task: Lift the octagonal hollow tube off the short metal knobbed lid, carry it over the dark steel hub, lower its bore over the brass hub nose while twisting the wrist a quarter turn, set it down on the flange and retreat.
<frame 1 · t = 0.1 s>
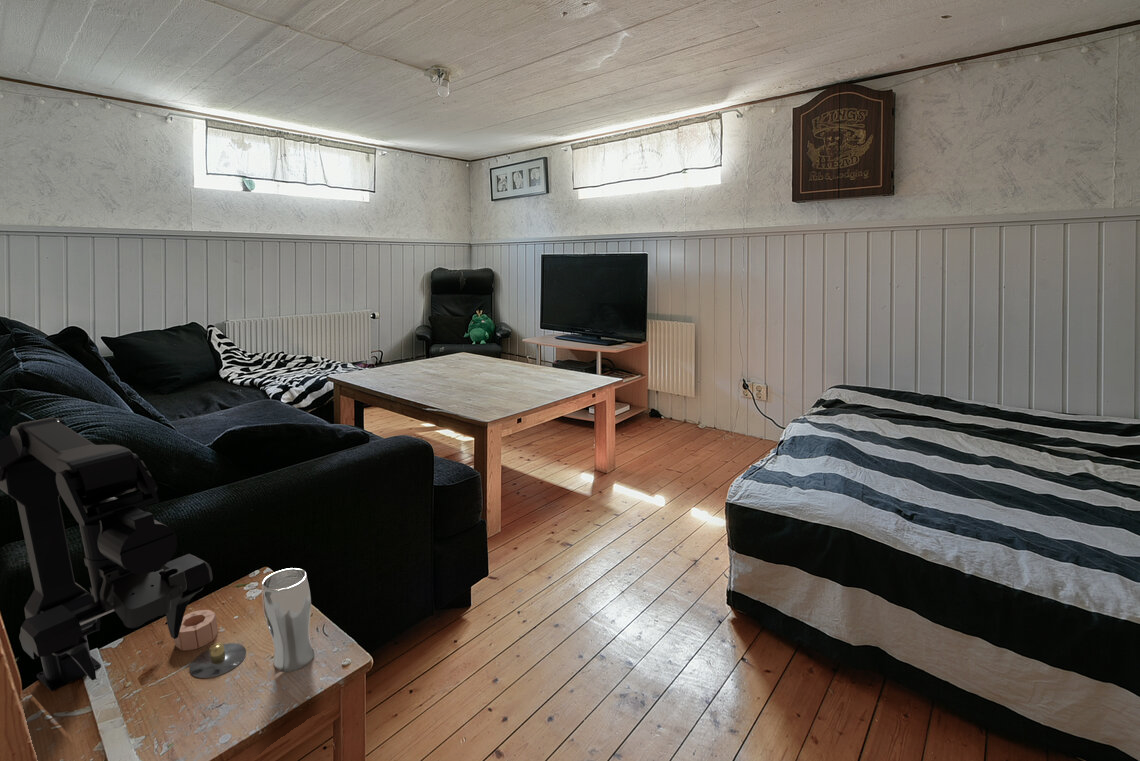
hand: (135, 657, 75), 15 cm above the table, fingers open, 9 cm apart
beer glass: (294, 660, 96), on the table
octagonal hollow tube: (197, 638, 100), resting on metal knobbed lid
metal knobbed lid: (197, 640, 100), on the table
hub: (218, 662, 95), on the table
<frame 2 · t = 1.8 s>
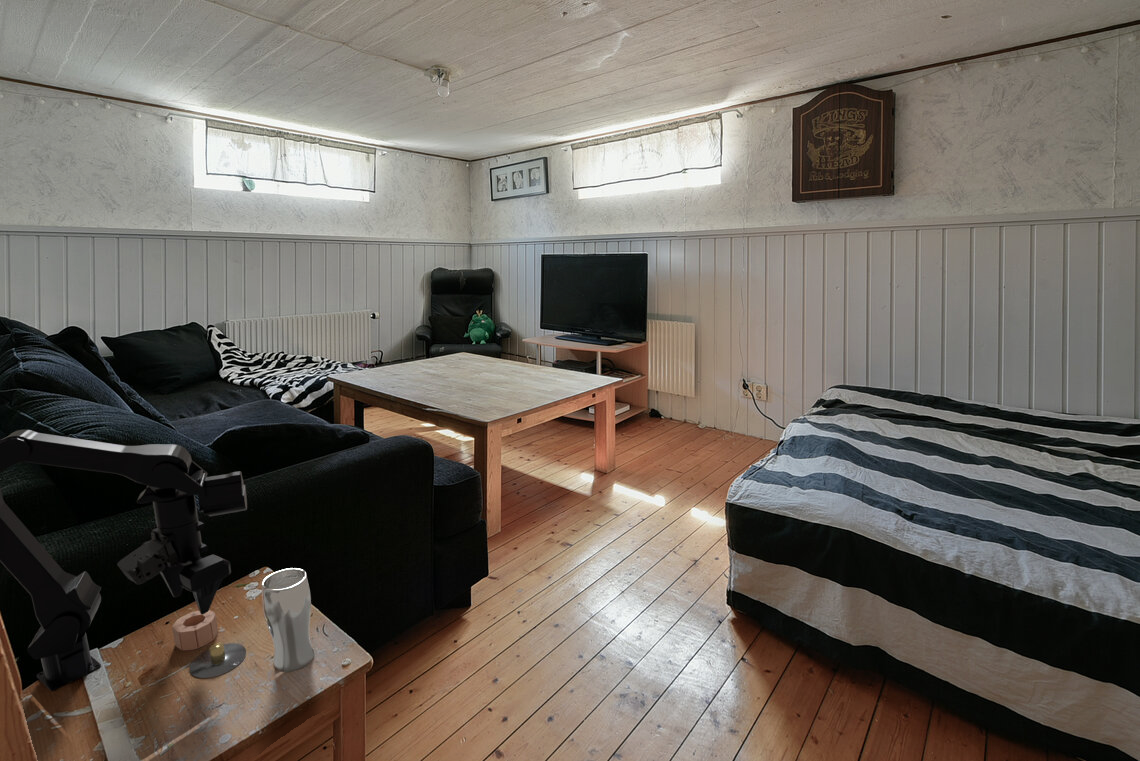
hand: (190, 604, 99), 7 cm above the table, fingers open, 9 cm apart
nothing on the table moved.
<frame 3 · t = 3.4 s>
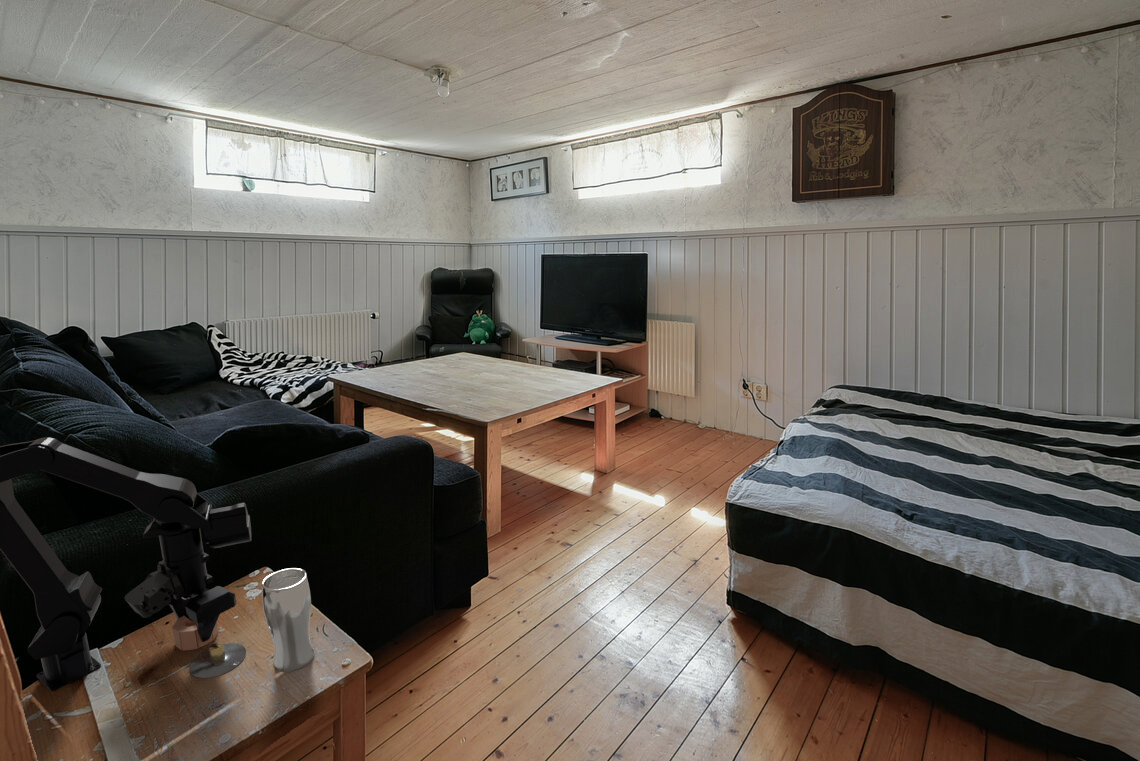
hand: (196, 634, 100), 1 cm above the table, fingers closed on octagonal hollow tube, 6 cm apart
octagonal hollow tube: (197, 638, 100), resting on metal knobbed lid, touching gripper
everything else where it was.
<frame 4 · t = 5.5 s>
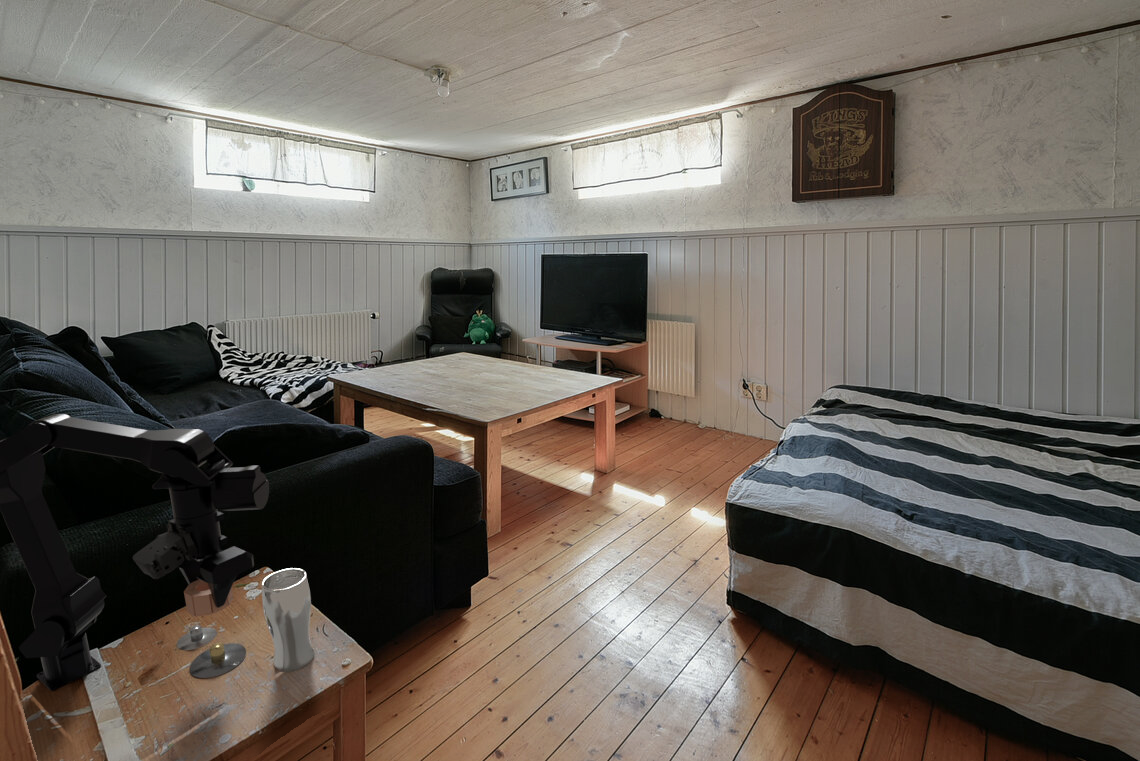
hand: (209, 600, 92), 11 cm above the table, fingers closed on octagonal hollow tube, 6 cm apart
octagonal hollow tube: (210, 604, 93), point 11 cm above the table, touching gripper
everything else where it was.
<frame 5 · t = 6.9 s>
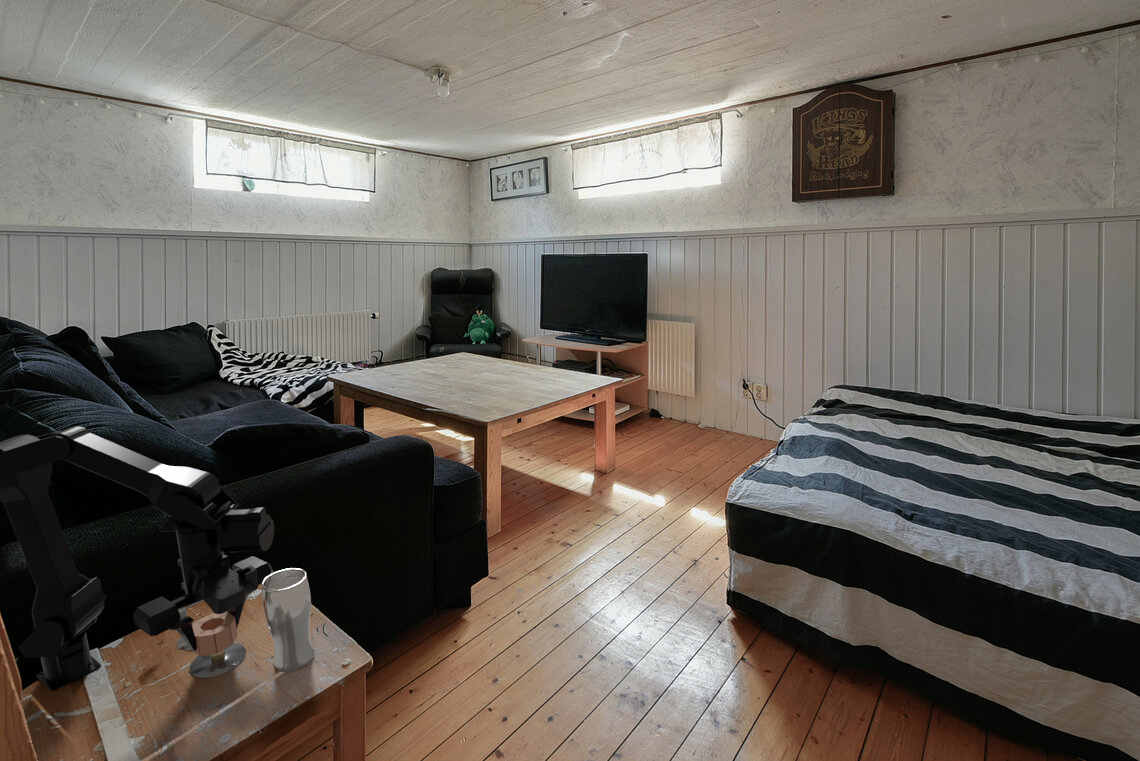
hand: (214, 638, 94), 4 cm above the table, fingers closed on octagonal hollow tube, 6 cm apart
octagonal hollow tube: (215, 642, 94), point 4 cm above the table, touching gripper
everything else where it was.
when the fingers open (2 cm above the table, at t = 7.8 s): octagonal hollow tube stays where it is, resting on hub.
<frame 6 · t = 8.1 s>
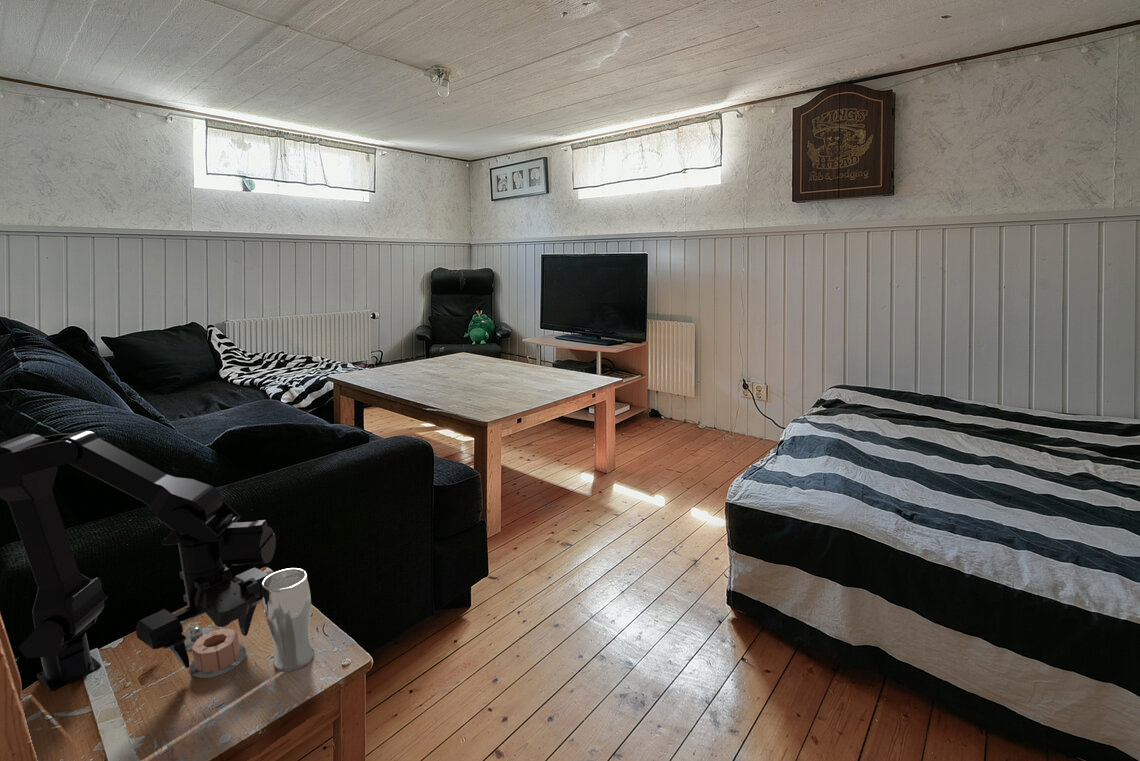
hand: (216, 650, 94), 2 cm above the table, fingers open, 9 cm apart
octagonal hollow tube: (217, 659, 95), point 1 cm above the table, touching hub
everything else where it was.
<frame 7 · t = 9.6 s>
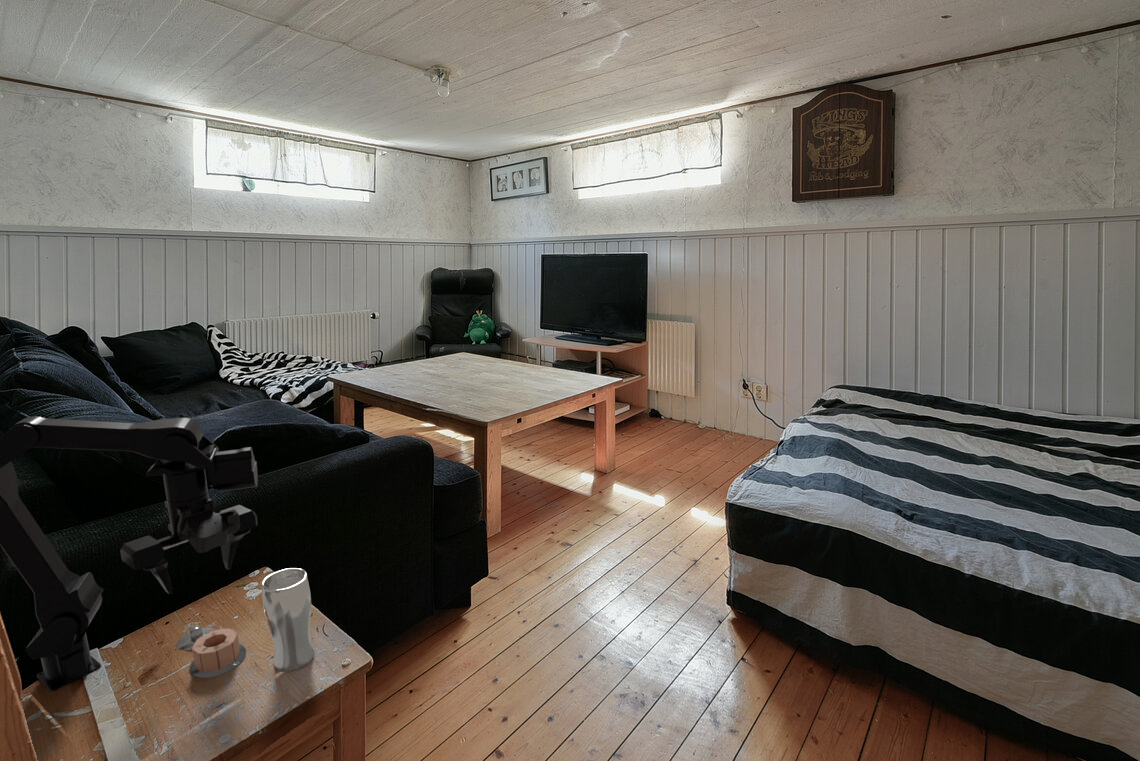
hand: (199, 580, 98), 12 cm above the table, fingers open, 9 cm apart
nothing on the table moved.
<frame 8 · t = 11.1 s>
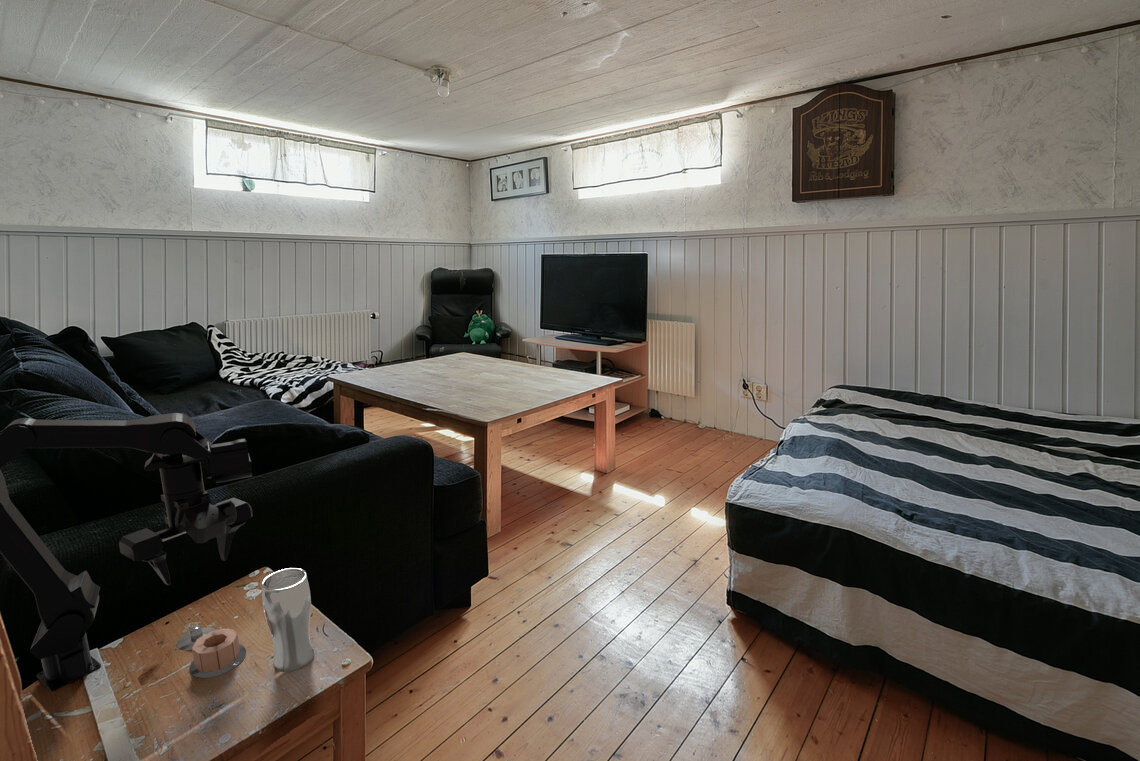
hand: (197, 571, 100), 12 cm above the table, fingers open, 9 cm apart
nothing on the table moved.
at the end: octagonal hollow tube 0.1 cm off-centre on the hub, point 0.6 cm above the hub's base; octagonal hollow tube tilted 0°; the gripper is holding nothing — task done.
